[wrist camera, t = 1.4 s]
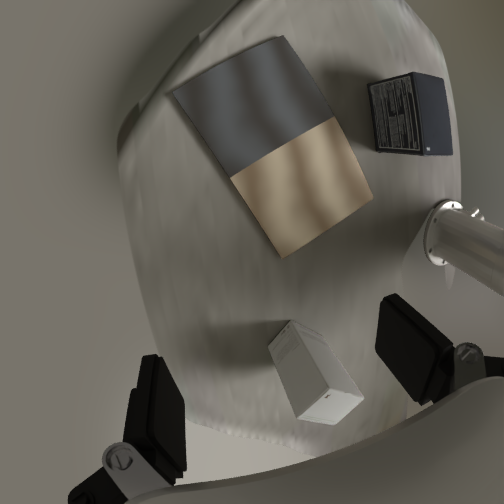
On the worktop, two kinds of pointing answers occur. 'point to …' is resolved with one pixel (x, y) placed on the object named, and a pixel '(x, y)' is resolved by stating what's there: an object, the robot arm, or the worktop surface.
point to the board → (277, 143)
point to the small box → (411, 115)
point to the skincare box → (313, 376)
